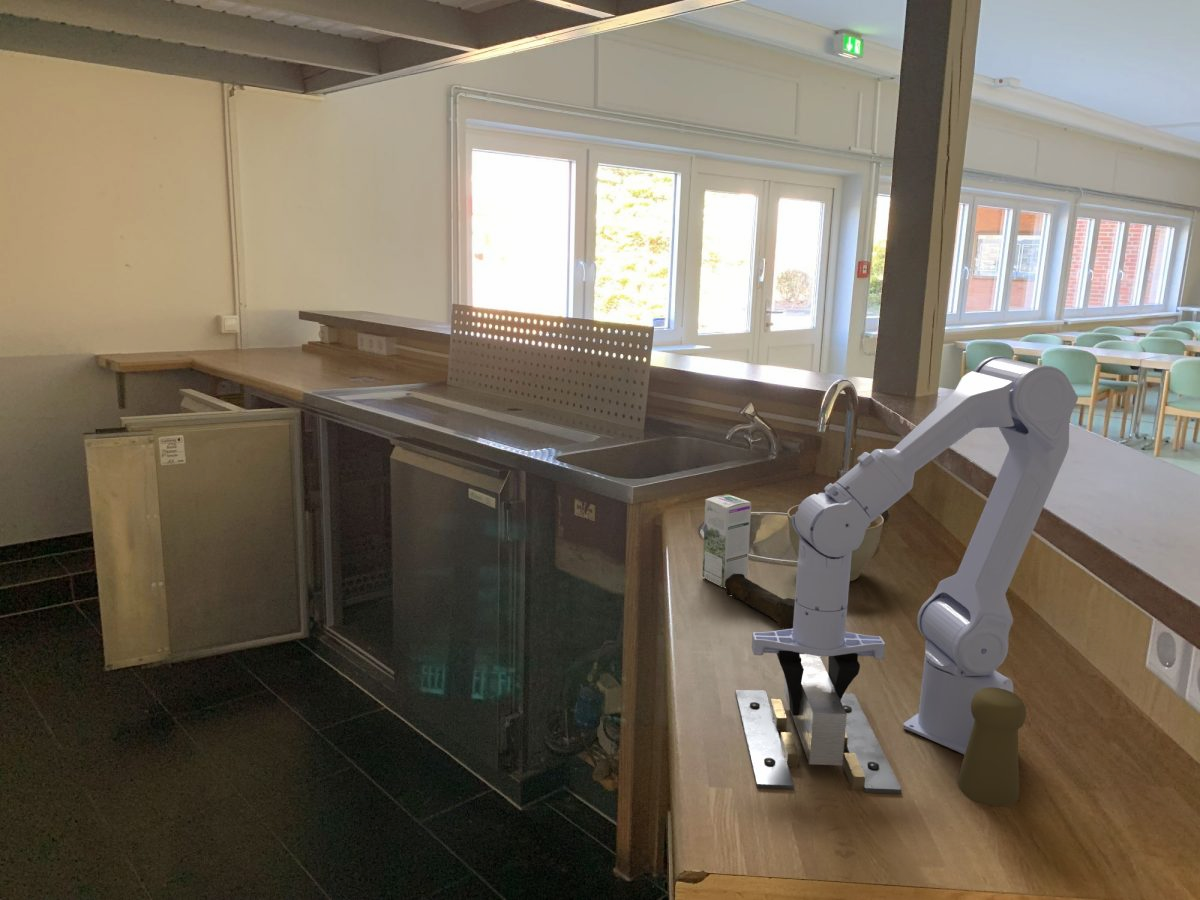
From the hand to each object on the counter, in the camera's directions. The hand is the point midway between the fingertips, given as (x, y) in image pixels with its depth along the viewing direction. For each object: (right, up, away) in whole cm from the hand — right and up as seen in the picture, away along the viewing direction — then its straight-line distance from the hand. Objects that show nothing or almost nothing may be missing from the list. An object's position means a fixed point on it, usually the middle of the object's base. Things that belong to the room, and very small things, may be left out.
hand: (812, 711), depth 99 cm
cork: (+17, -6, -8) cm, 19 cm away
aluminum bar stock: (0, -2, +1) cm, 2 cm away
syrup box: (-3, +8, +49) cm, 49 cm away
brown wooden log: (+2, +4, +35) cm, 35 cm away
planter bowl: (+16, +8, +53) cm, 56 cm away
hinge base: (0, -3, +1) cm, 3 cm away
